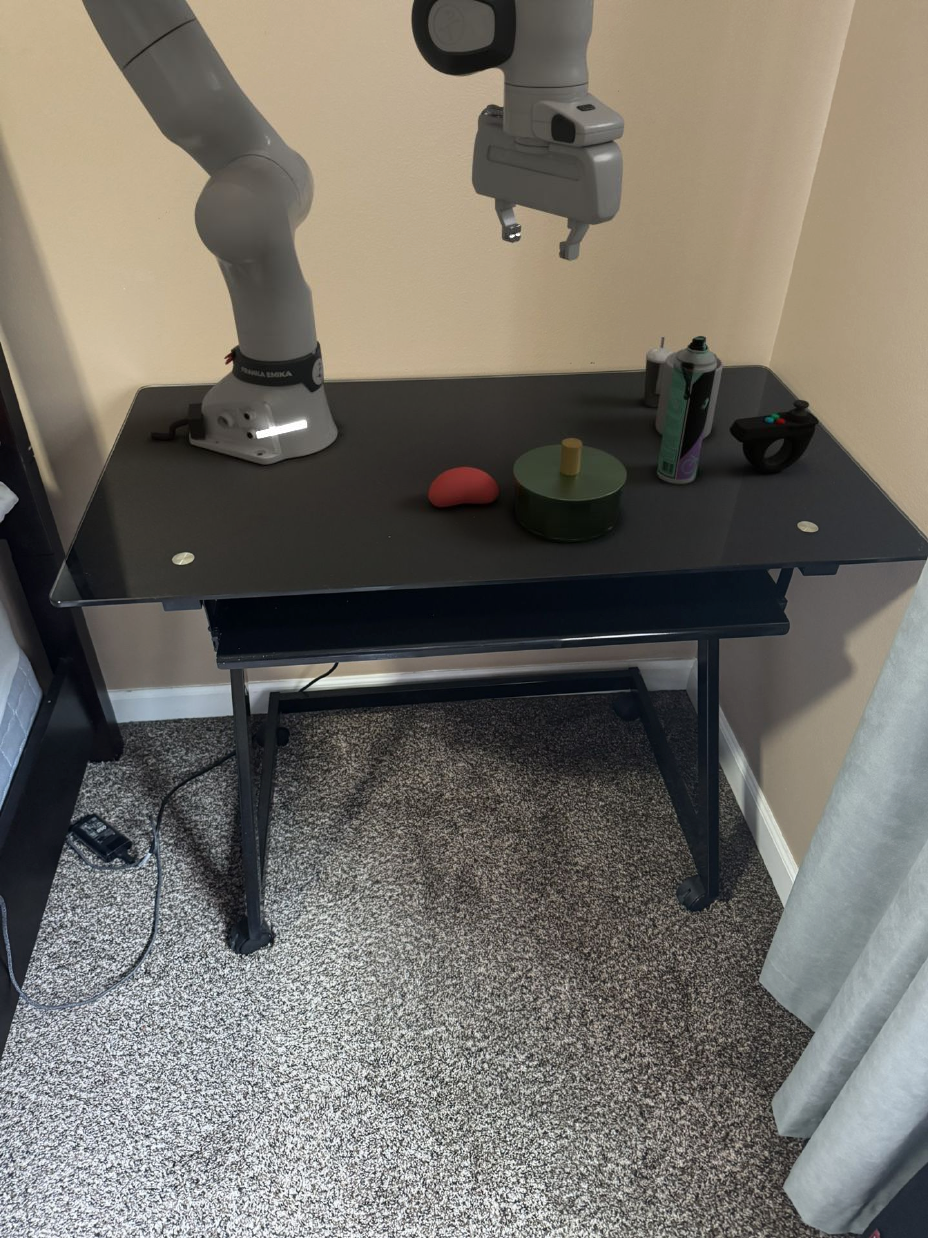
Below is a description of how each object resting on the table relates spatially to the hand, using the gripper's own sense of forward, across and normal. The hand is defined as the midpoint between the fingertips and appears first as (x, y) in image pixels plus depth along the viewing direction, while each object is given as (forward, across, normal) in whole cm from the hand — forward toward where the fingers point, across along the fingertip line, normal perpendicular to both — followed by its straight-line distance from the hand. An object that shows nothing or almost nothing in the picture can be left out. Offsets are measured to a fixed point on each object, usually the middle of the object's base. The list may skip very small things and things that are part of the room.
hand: (539, 249), depth 102 cm
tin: (+32, +7, 0) cm, 33 cm away
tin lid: (+26, +7, 0) cm, 27 cm away
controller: (+33, +18, +30) cm, 48 cm away
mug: (+33, +3, +30) cm, 45 cm away
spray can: (+33, +10, +19) cm, 39 cm away
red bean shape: (+32, -4, -9) cm, 34 cm away
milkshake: (+33, -7, +36) cm, 49 cm away
